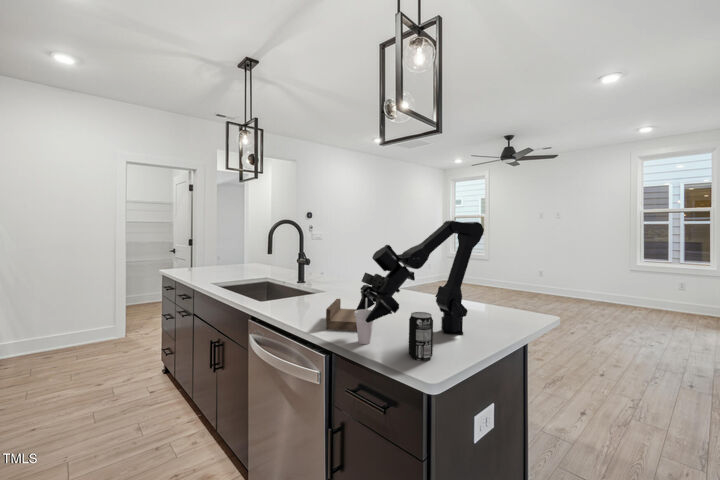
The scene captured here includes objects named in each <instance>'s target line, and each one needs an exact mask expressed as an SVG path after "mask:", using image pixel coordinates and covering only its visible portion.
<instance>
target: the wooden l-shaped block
mask: <svg viewBox="0 0 720 480" xmlns="http://www.w3.org/2000/svg"><path fill="white" fill-rule="evenodd" d="M356 309H357V308H356ZM356 309H355V308H341V298H336V299H334V300H333V302H332V303H330V305H329V306H328V307H326V309H325V330H335V331H336V330H338V331H356V332H357V325H356V316H355V315H354V314H355V311H356Z"/></svg>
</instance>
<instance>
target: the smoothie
mask: <svg viewBox="0 0 720 480" xmlns="http://www.w3.org/2000/svg"><path fill="white" fill-rule="evenodd" d="M372 310H373V309H369V308H368V309H367V298H366V309H360V310H356V311H355V314H354V315H355V316H356V325H357V331H356V333H357V341H358V344H360V345H368V344H370V343H371V340H372V331H373V323H374V320H373V321H371V322H369V323H367V322H366V321H365V320H366V318H367V317H368V315H369V314H370V312H371V311H372Z"/></svg>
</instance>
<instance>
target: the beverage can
mask: <svg viewBox="0 0 720 480" xmlns="http://www.w3.org/2000/svg"><path fill="white" fill-rule="evenodd" d="M433 337H434V319H433V318H432V314H431V313H429V312H426V311H414V312H413V311H412V312H411V314H410V317H409V318H408V355H409V356H410V358H411V359H413V360H416V361H428V360H430V359H431V358H432V356H433V350H434V349H433V348H434V347H433V346H434V343H433V342H434V341H433V340H434V338H433Z"/></svg>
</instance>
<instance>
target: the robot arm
mask: <svg viewBox="0 0 720 480" xmlns="http://www.w3.org/2000/svg"><path fill="white" fill-rule="evenodd" d="M484 232H485V229H484V227H483V225H482V223H481V222H478V221H467V222H465V221H464V222H462V221H457V220H446V221H444V222H443V223H442V225H440V226H439V227H438V228H437V229H436V230H434V232H432V233H431V234H430V235H428V236H427V238H425V239H424V240H423V241H422V242H421V243H419V244H416V245H414V246H412V247H410V248H408V249H407V250H404V251H403V252H402V253H401V254H397V253H396V252H395V251H394V249H393V247H392V246H391V245H390V244H385V245H384V246H383V247H381V248H379V249H378V250H376V251H375V252H374V254H373V255H372V256H371V257H372V260H373V261H374V263H376V264H377V265H378V266H379V267H380V269H382V271H383V272H388V273H387V275H385V276H382V275H381V274H379V273H375V274H374V275H373V274H370V273H368V272H364V274H363V277H362V279H361V283H364V284H363V285H362V286H361V287H360V294H361V295H360V297H361V298H360V301H359V303H358V305H357V307H356V310H360V309H366V298H367V309H368V310H369V308H372V307H373V306H374V307H373V309H371V310H372V311H371V312H370V314H369V315H368V317H367V318H366V320H365V321H366V322H367V323H369V322H371V321H373V322H374V321H375V320H378V319H380V318H382V317H385V316H388V315H392V314H393V313H394V314H396V313H397V312H398V311H399V309H400V303H398V301H397V300H396V299H395V298H394V297H393V296H394V295H395V294H396V293H397V294H399V293H400V292H401V289H400V288H401V287H402V286H403V284H405V282H406V280H409V281H415V279H416V278H415V271H410V270H409V269H413V270H419V269H421V268H422V267H423V266H425V264H426V263H427V261H428V259H429V257H430V255H431V254H432V253H433V252H434V251H435V250H436V249H437V248H438V247H440V246H441V245H443V243H444V242H445V241H446V240H447V239H448V238H450V237H451V236H453V235H454V234H455V235H457V236H456V237H457V242H458V246H457V249H456V252H455V256H454V259H453V262H452V265H451V268H450V272H449V274H448V277H447V281H446V283H445V284H444V285H443V286H441V285H439V286H438V288H437V293H436V294H435V303H436V304H437V306H438V307H439V312H441V313H443V314H442V315H443V316H441V319H440V320H441V322H440V323H441V330H442V333H444V334H447V335H448V334H449V335H450V334H451V335H464V332H463V324H464V323H463V322H464V319H463V318H464V317H467V314H468V311H469V310H468V309H467V308H466V307H465V306H464V304H462V302H463V293H462V284H463V281H464V277H465V276H466V275H465V274H466V271H467V268H468V265H469V262H470V258H471V255H472V254H473V253H472V252H473V249H474V248H475V247H476V246H477V245H478V244H479V242H480V241H481V239H482V237H483V235H484Z"/></svg>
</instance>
